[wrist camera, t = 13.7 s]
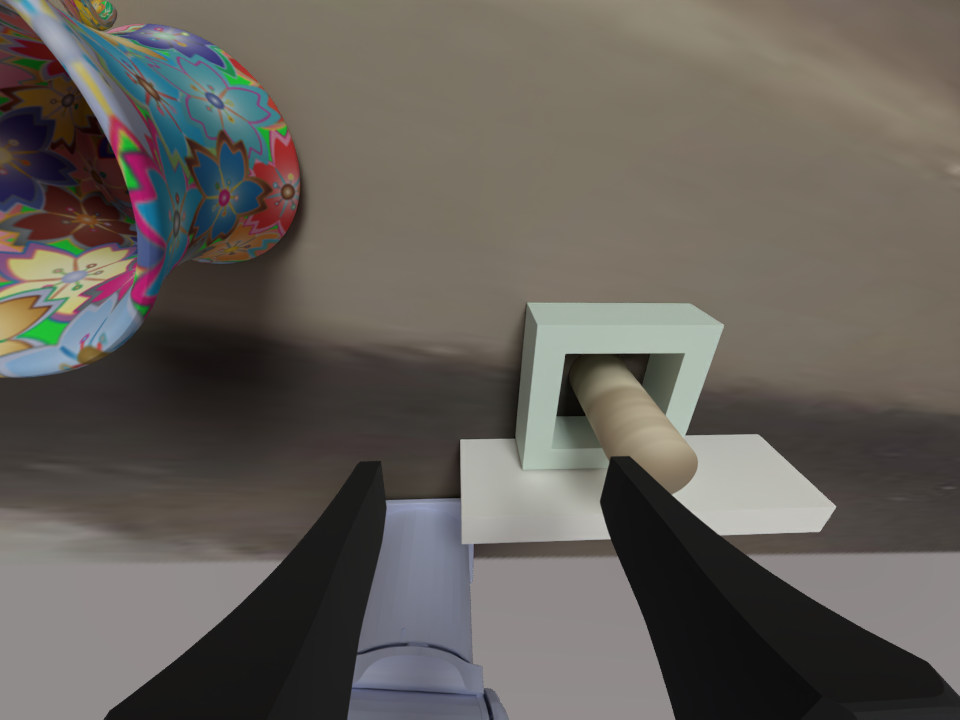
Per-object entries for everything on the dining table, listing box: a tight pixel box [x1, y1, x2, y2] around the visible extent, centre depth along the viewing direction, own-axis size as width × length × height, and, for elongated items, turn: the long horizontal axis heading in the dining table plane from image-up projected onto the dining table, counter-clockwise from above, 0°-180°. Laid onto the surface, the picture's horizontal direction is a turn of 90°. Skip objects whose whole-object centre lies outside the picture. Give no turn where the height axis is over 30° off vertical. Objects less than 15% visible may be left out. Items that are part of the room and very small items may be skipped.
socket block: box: [515, 303, 724, 470], centre depth 21 cm, size 9×9×3 cm
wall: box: [460, 434, 836, 544], centre depth 23 cm, size 2×20×6 cm, turn 89°
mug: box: [0, 0, 300, 378], centre depth 11 cm, size 12×9×11 cm
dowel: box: [569, 354, 698, 495], centre depth 19 cm, size 3×3×8 cm
